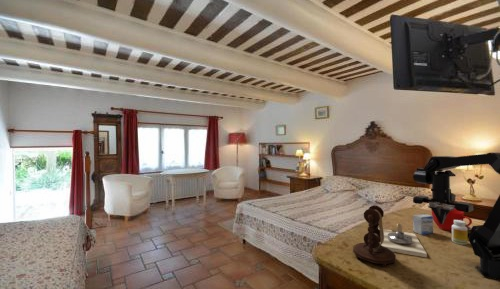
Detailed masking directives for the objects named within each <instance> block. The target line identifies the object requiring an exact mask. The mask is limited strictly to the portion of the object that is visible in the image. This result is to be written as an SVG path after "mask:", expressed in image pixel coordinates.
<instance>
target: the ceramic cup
mask: <svg viewBox="0 0 500 289" xmlns="http://www.w3.org/2000/svg"><path fill="white" fill-rule="evenodd" d="M442 208H443V206H442ZM430 210H431V216H433V223H435V225H436V226H437V227H438V228H439V229H441V230H444V231H446V232H447V231H448V232H452V225H453V224H454V220H461V221H464V219H467V220H468V223H467V224H466V225H465V227H470V226H471V225H472V223H473V221H472V218H470V217H468V216H465V212H462V211H457V210H456V209H454V210H452V211H449V213H448V214H447V216H446V219H445V221H444V223H443V224H440V223H439V221H438V219H437V218H436V216H435V214H434V212H433V211H432V209H431V208H430Z"/></svg>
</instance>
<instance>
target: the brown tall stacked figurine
mask: <svg viewBox="0 0 500 289" xmlns="http://www.w3.org/2000/svg"><path fill="white" fill-rule="evenodd" d="M384 214H385V213H384V210H383V209H382V208H381V207H380V206H379V205H377V204H376V205H375V204H374V205H370V207H368V209H365V211H364V212H363V219H364V221H366V222H367V223H368V227H367V232H366V233H365V234H364V235H363V241H364V242H359V243H356V244H354V245H353V248H352V252H353V253H354V255H355V258H356V259H359V258H360V259H361V260H364V261H367V262H369V263H373V264H379V265H382V266H383V267H384V268H386V267H387V265H388V264H393V263H395V261H396V254H395V252H392V251H391V250H390V249H388V248H386V247H384V246H382V245H381V244H382V243H383V241H384V232H383V229H384V226H383V217H384ZM379 229H380V230H379ZM380 242H381V243H380Z"/></svg>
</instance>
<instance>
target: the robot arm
mask: <svg viewBox="0 0 500 289" xmlns="http://www.w3.org/2000/svg"><path fill="white" fill-rule="evenodd" d="M481 165H489V166H490V168H492V169H493V170H494V172H496V173H497V174H499V175H500V152H498V151H497V152H487V153H480V154H479V153H478V154H472V155H461V156H459V155H458V156H453V155H451V156H448V155H440V156H439V155H438V156H437V155H434V156H431V157H430V158H429V160H428V162H427V163H426V165H425V166H424V168H423V167H417V168H416V170H415V171H414V173H413V175H412V180H413V181H414V182H415V183H418V184H422V185H423V184H425V185H431V188H430V191H431V198H429V196H426V195H425V196H424V195H415V196H414V197H413V198H412V203H413V204H418V205H422V204H423V203H425V204H428V205H427V207H428V209H430V210H431V209H432V210H431V212H432V211H433V212H434V214H435V216H436V218H437V219H438V221H439V223H440V224H443V223H444V221H445V219H446V216H447V214H448V213H449V211H452V210H454V209H456V210H457V211H462V212H464V213H470V212H473V211H474V205H473V204H472V202H465V201H457V202H456V194H454V193H452V189H451V179H450V177H456V174H455V173H454V172H452V171H451V170H452V169H456V168H458V167H466V166H481ZM442 207H443V208H442ZM468 236H469V237H468V242H469V243H470V246H471V248H472V251H473V253H474V255H475V256H476V257H479V266H475V267H474V268H475V269H476V270H477V271H478V272H479V274H480V275H481V276H482V277H483V276H484V278H487V277H490V278H489V279H492V278H496V279H495V280H498V279H500V194H499V195H498V197H497V199H496V200H495V203H494V204H493V207H492V208H491V210H490V211H489V214H488V215H487V217H486V219H485V221H484V223H483V224H479V225H477V224H476V225H472V227H471V230H470V232H469V233H468Z"/></svg>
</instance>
